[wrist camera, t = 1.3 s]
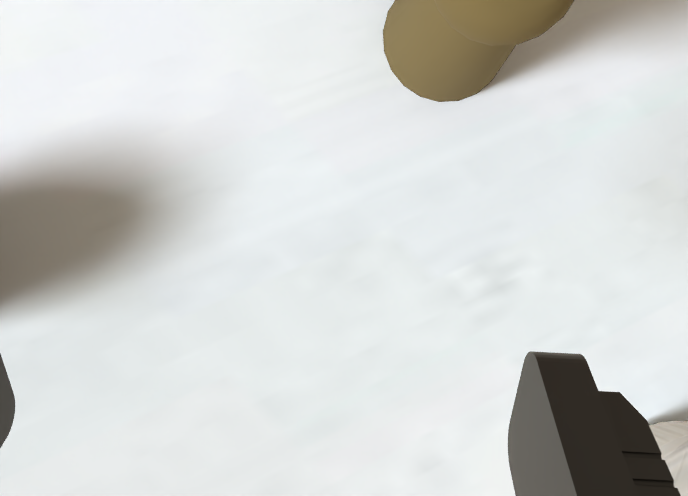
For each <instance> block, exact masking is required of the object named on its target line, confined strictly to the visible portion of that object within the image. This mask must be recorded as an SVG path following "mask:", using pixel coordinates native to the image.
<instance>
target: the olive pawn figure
mask: <svg viewBox="0 0 688 496" xmlns="http://www.w3.org/2000/svg"><path fill="white" fill-rule="evenodd" d="M573 1H574V0H395V1H394V3H393V5H392V6H391V8H390V9H389V11H388V14H387V18H386V22H385V26H384V29H383V39H384V52H385V55H386V57H387V60H388V63H389V65H390V68H391V70H392V72H393V73H394V74H395V75H396V77H397V78H398V79H399V80H400V82H401V83H402V84H403V85H404V86H405V87H407V88H408V89H410V90H411V91H413V92H414V93H416V94H417V95H419V96H420V97H423V98H427V99H431V100H434V101H438V102H445V101H459V100H462V99H464V98H467V97H469V96H472V95H474V94H477V93H478V92H479V91H480V90H482V89H483V88H484V87H485V86H486V85H488V84H489V83H490V82H491V81H492V80H493V78H494V77H495V75H496V74H497V72H498V71H499V69H500V68H501V67H502V65H503V64H504V62H505V61H506V59H507V58H508V56H509V55H510V53H511V52H512V50H513V49H514V47H515V46H516V44H520V43H523V42H525V41H528V40H530V39H533V38H535V37H538V36H540V35H541V34H543V33H544V32H546V31H547V30H548V29H549V28H550V27H552V26H553V25H554V24H555V23H556V22H558V21H559V20H560V19H561V18H563V17H564V15H565V14H566V12H567V11H568V9H569V8H570V6H571V4H572V3H573Z"/></svg>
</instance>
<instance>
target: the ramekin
mask: <svg viewBox="0 0 688 496" xmlns="http://www.w3.org/2000/svg"><path fill="white" fill-rule="evenodd" d="M649 427H650V429H651V431H652V433H653V435H654V438H655V440H656V442H657V444H658V446H659V449H660V451H661V453H662V454H661V458H662V460H665V462H666V464H667V466H668V468H669V471H670V473H671V475H672V477H673V479H674V487H675V488H678V490H679V493H680V495H681V496H688V421H670V422H659V423H656V424H653V425H649Z"/></svg>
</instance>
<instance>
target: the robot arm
mask: <svg viewBox="0 0 688 496" xmlns="http://www.w3.org/2000/svg"><path fill="white" fill-rule="evenodd" d="M14 413H15V398H14V394H13V390H12V387H11V384H10V381H9V378H8V375H7V372H6V369H5V366H4V363H3V360H2V357H1V354H0V448H1V446H2V444H3V443H4V441H5V440H6V438H7V436H8V434H9V432H10V429H11V426H12V423H13V419H14ZM661 454H662V453H661V451H660V449H659V446H658V444H657V442H656V440H655V438H654V435H653V433H652V431H651V429H650V427H649V424H648V422H647V420H646V419H645V418H644V417H643V416H642V415H641V414H640V413H639V412H638V411H637V410H636V409H635V408H634V407H633V406H632V405H631V404H630V403H629V402H628V401H627V400H626V398H625V397H624V396H623V395H622V394H621V393H620V392H604V391H598V389H597V387H596V384H595V381H594V379H593V376H592V374H591V371H590V369H589V366H588V364H587V361H586V359H585V358H584V357H583V356H582V355H581V354H567V353H548V352H529V353H528V354H527V355H526V357H525V360H524V364H523V368H522V372H521V377H520V381H519V385H518V389H517V394H516V398H515V402H514V407H513V411H512V415H511V419H510V424H509V432H508V456H509V465H510V470H511V475H512V480H513V485H514V490H515V494H516V496H681V495H680V493H679V490H678V488H675V487H674V479H673V477H672V475H671V473H670V471H669V468H668V466H667V464H666V462H665V460H662V458H661Z"/></svg>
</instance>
